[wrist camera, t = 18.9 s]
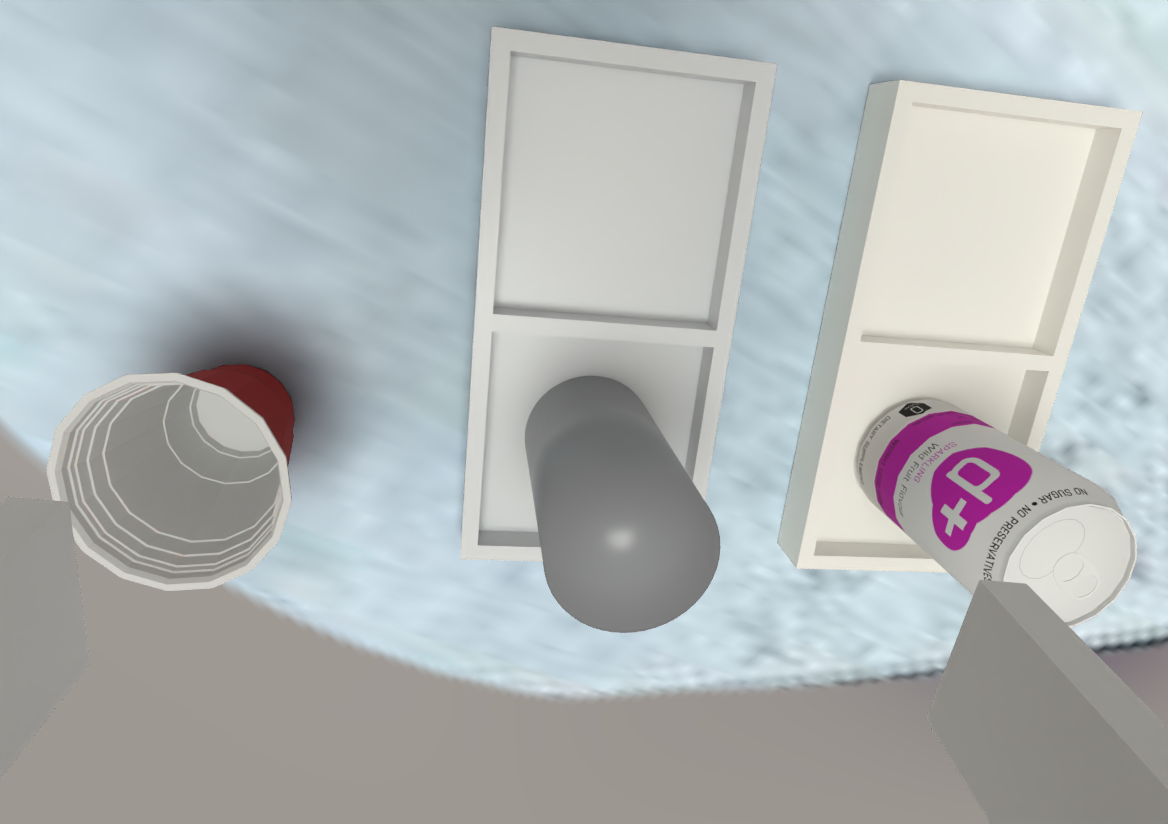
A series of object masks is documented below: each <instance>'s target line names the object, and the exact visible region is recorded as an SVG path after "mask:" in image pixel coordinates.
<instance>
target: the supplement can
mask: <svg viewBox="0 0 1168 824" xmlns="http://www.w3.org/2000/svg"><path fill="white" fill-rule="evenodd" d="M857 469H858V475H859V482H860V486H861V488H862V489H863V491H864V493H865V494H866V496H867V497H868V499H869V500H870V502H872V503H873V504H874V505H875V506H876V507H877V508H878V509H879V510H880V511H881V512H882V513H884V514H885V515H886V516H887V517H888V518H889V519H890V520H891V521H892V522H893V523H894V524H896V525H897V526H898V527H899V528H900V529H901V530H902V531H903V532H904V533H905V534H906V535H908V536H909V537H910V538H911V539H912V540H913V541H914V542H915V543H916V544H917V545H918V546H920V547H921V548H922V549H923V550H924V551H925V552H926V553H927V554H928V555H929V556H930V557H932V558H933V559H934V560H935V561H936V562H937V563H938V564H939V565H940V566H941V567H943V568H944V569H945V570H946V571H947V572H948V573H949V574H950V575H951V576H952V577H953V578H955V579H956V580H957V581H958V582H959V583H960V584H961V585H962V586H963V587H964V588H965V589H967V590H968V591H969V592H970V593H971V594H972V595H974V592H975V590H976V587H977V585H978V582H979V580H990V581H1002V582H1013V583H1025V584H1027V585H1028V586H1029V587H1030V588H1031V589H1032V590H1033V591H1034V592H1035V593H1036V594H1037V595H1038V596H1039V597H1040V598H1041V599H1042V600H1043V601H1044V602H1045V603H1046V604H1047V605H1048V606H1049V607H1050V608H1051V609H1052V610H1053V611H1054V612H1055V613H1056V614H1057V615H1058V616H1059V617H1060V618H1061V619H1062V620H1063V621H1064V622H1065V623H1066V624H1067V625H1068V626H1069V627H1074V626H1076V625H1078V624H1080V623H1082V622H1084V621H1087V620H1089V619H1091V618H1093V617H1095V616H1097V615H1098V614H1099V613H1100V612H1101V611H1103V610H1104V609H1105V608H1106V607H1107V606H1109V605H1110V604H1111V603H1112V602H1113V601H1115V600H1116V598H1117V597H1118V595H1119V594H1120V593H1121V591H1122V590H1123V588H1124V587H1125V586H1126V584H1127V583H1128V581H1129V580H1130V577H1131V574H1132V571H1133V568H1134V565H1135V562H1136V559H1137V543H1136V536H1135V534H1134V532H1133V530H1132V528H1131V525H1130V523H1129V521H1128V520H1127V519H1126V518H1124V517H1123V515H1122V513H1121V511H1120V509H1119V507H1118V505H1117V503H1116V501H1115V498H1114V497H1113V496H1111V495H1110V494H1109V493H1107V492H1106V491H1105V490H1103V489H1102V488H1101V487H1099V486H1098V485H1097V484H1095V483H1093V482H1092V481H1090V480H1088V479H1086V478H1084V477H1082V476H1081V475H1079V474H1077V473H1075V472H1073V471H1072V470H1070V469H1068V468H1066V467H1064V466H1063V465H1061V464H1059V463H1057V462H1055V461H1053V460H1052V459H1050V458H1048V457H1046V456H1044V455H1043V454H1041V453H1039V452H1037V451H1035V450H1034V449H1032V448H1030V447H1028V446H1026V445H1024V444H1023V443H1021V442H1019V441H1017V440H1015V439H1014V438H1012V437H1010V436H1008V435H1006V434H1005V433H1003V432H1001V431H999V430H997V429H995V428H994V427H992V426H990V425H988V424H986V423H985V422H983V421H981V420H979V419H977V418H976V417H974V416H972V415H970V414H968V413H967V412H965V411H963V410H961V409H959V408H957V407H956V406H954V405H952V404H950V403H946V402H942V401H938V400H933V399H926V400H919V401H911V402H908V403H906V404H904V405H902V406H900V407H898V408H896V409H894V410H891V411H889V412H888V413H887V414H886V415H885V416H884V417H883V418H882V419H881V420H880V421H879V422H877V423H876V424H875V425H874V426H873V427H872V429H871V431H870V432H869V434H868V436H867V437H866V439H865V441H864V443H863V444H862V446H861V450H860V455H859V460H858V465H857Z"/></svg>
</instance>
